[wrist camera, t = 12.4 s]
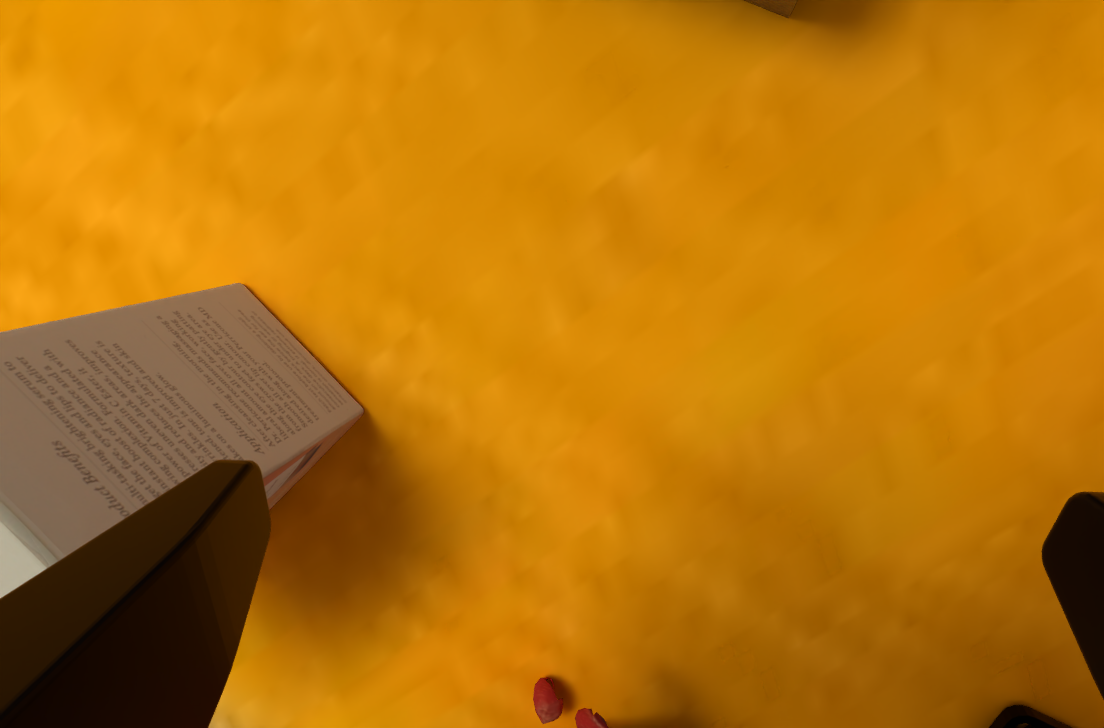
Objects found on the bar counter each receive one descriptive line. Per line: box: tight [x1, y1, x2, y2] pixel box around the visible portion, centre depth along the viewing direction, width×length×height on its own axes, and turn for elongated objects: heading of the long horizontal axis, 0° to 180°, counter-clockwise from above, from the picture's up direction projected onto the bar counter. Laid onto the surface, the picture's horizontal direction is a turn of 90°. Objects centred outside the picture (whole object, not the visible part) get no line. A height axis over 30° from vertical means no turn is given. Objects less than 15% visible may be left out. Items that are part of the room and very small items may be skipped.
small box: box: [0, 283, 364, 598], centre depth 18 cm, size 8×6×10 cm
